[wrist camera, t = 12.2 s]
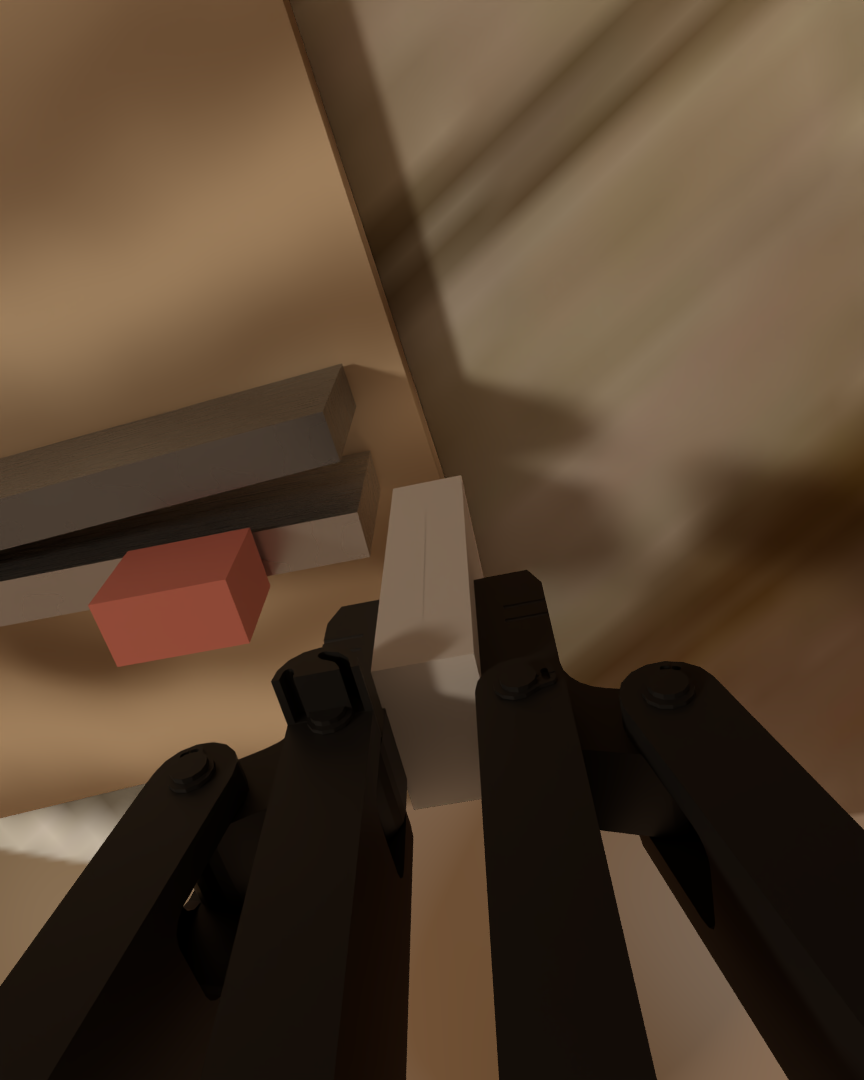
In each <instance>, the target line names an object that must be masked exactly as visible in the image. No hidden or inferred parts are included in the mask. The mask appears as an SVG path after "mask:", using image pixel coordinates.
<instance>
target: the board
mask: <svg viewBox="0 0 864 1080" xmlns="http://www.w3.org/2000/svg"><path fill="white" fill-rule="evenodd" d="M338 364H343V368H344V371H345V374H346V377H347V380H348V383H349V386H350V389H351V392H352V395H353V398H354V401H355V404H356V409H355V413H354V416H353V420H352V423H351V426H350V430H349V433H348V437H347V440H346V444H345V447H344V450H343V454H342V456H346V455H351V454H355V453H360V452H365V451H371V455H372V459H373V463H374V467H375V470H376V474H377V478H378V482H379V485H380V489H381V491H380V497H379V503H378V510H377V516H376V523H375V529H374V535H373V542H372V548H371V554H370V557H367V558H362V559H357V560H351V561H346V562H341V563H335V564H330V565H325V566H320V567H314V568H309V569H304V570H298V571H293V572H288V573H282V574H277V575H272V576H267V578H268V580H269V583H270V589H269V592H268V595H267V597H266V600H265V603H264V606H263V608H262V611H261V614H260V617H259V619H258V622H257V625H256V628H255V630H254V633H253V636H252V638H251V641H250V643H249V644H243V645H237V646H232V647H226V648H221V649H215V650H210V651H204V652H199V653H193V654H187V655H182V656H176V657H171V658H165V659H160V660H154V661H149V662H143V663H137V664H132V665H126V666H121V667H117V665H116V663H115V661H114V659H113V657H112V655H111V652H110V650H109V648H108V646H107V644H106V642H105V640H104V638H103V636H102V634H101V632H100V630H99V627H98V625H97V623H96V621H95V619H94V617H93V615H92V613H91V611H90V610H86V611H81V612H76V613H70V614H65V615H60V616H54V617H49V618H44V619H38V620H33V621H28V622H22V623H17V624H12V625H7V626H1V627H0V818H3V817H7V816H11V815H15V814H20V813H24V812H28V811H32V810H36V809H40V808H44V807H49V806H53V805H57V804H61V803H65V802H69V801H74V800H78V799H82V798H86V797H90V796H94V795H98V794H103V793H107V792H111V791H115V790H119V789H123V788H128V787H132V786H136V785H140V784H144V783H147V782H148V781H149V779H150V778H151V776H152V775H153V774H154V773H155V771H156V770H157V769H158V768H159V767H160V766H161V765H162V764H163V763H164V762H165V761H166V760H168V759H169V758H171V757H172V756H174V755H175V754H177V753H178V752H180V751H182V750H184V749H187V748H190V747H192V746H195V745H197V744H203V743H210V742H216V743H222V744H227V745H228V746H229V747H230V748H232V749H233V750H234V751H235V752H236V755H237V757H238V759H241V758H243V757H246V756H248V755H251V754H253V753H256V752H258V751H261V750H263V749H266V748H268V747H270V746H272V745H274V744H276V743H278V742H279V741H281V740H282V739H284V738H285V734H286V730H287V726H288V725H287V722H286V720H285V717H284V715H283V712H282V709H281V707H280V704H279V702H278V699H277V696H276V694H275V691H274V688H273V686H272V683H271V680H272V679H273V677H274V675H275V673H276V672H277V670H278V669H279V668H281V667H282V666H283V665H284V664H285V663H286V662H287V661H289V660H290V659H292V658H294V657H296V656H298V655H300V654H302V653H303V652H307V651H310V650H313V649H317V648H320V647H322V646H323V644H324V637H325V632H326V628H327V624H328V622H329V621H330V620H331V619H332V617H333V616H334V615H335V614H336V613H337V611H338V610H339V609H340V608H341V607H342V606H348V605H353V604H358V603H364V602H369V601H374V600H380V592H381V584H382V576H383V568H384V559H385V551H386V543H387V535H388V527H389V518H390V510H391V502H392V494H393V489H394V488H399V487H404V486H409V485H414V484H419V483H424V482H429V481H434V480H439V479H444V478H445V477H444V474H443V471H442V468H441V465H440V462H439V459H438V456H437V453H436V449H435V446H434V443H433V440H432V437H431V434H430V431H429V428H428V425H427V422H426V419H425V416H424V413H423V410H422V406H421V403H420V400H419V397H418V394H417V391H416V388H415V385H414V382H413V379H412V376H411V373H410V370H409V367H408V363H407V360H406V357H405V354H404V351H403V348H402V345H401V342H400V339H399V336H398V333H397V330H396V327H395V324H394V320H393V317H392V314H391V311H390V308H389V305H388V302H387V299H386V296H385V293H384V290H383V287H382V284H381V281H380V277H379V274H378V271H377V268H376V265H375V262H374V259H373V256H372V253H371V250H370V247H369V244H368V241H367V238H366V234H365V231H364V228H363V225H362V222H361V219H360V216H359V213H358V210H357V207H356V204H355V201H354V198H353V195H352V191H351V188H350V185H349V182H348V179H347V176H346V173H345V170H344V167H343V164H342V161H341V158H340V155H339V152H338V148H337V145H336V142H335V139H334V136H333V133H332V130H331V127H330V124H329V121H328V118H327V115H326V112H325V109H324V105H323V102H322V99H321V96H320V93H319V90H318V87H317V84H316V81H315V78H314V75H313V72H312V69H311V66H310V62H309V59H308V56H307V53H306V50H305V47H304V44H303V41H302V38H301V35H300V32H299V29H298V26H297V23H296V19H295V16H294V13H293V10H292V7H291V4H290V1H289V0H0V458H3V457H7V456H11V455H14V454H18V453H21V452H25V451H29V450H32V449H36V448H39V447H43V446H47V445H50V444H54V443H57V442H61V441H65V440H68V439H72V438H75V437H79V436H83V435H86V434H90V433H93V432H97V431H101V430H104V429H108V428H111V427H115V426H119V425H122V424H126V423H129V422H133V421H137V420H140V419H144V418H147V417H151V416H155V415H158V414H162V413H165V412H169V411H173V410H176V409H180V408H183V407H187V406H191V405H194V404H198V403H201V402H205V401H209V400H212V399H216V398H219V397H223V396H227V395H230V394H234V393H237V392H241V391H245V390H248V389H252V388H255V387H259V386H263V385H266V384H270V383H273V382H277V381H281V380H284V379H288V378H291V377H295V376H299V375H302V374H306V373H309V372H313V371H317V370H320V369H324V368H327V367H331V366H335V365H338Z"/></svg>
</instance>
